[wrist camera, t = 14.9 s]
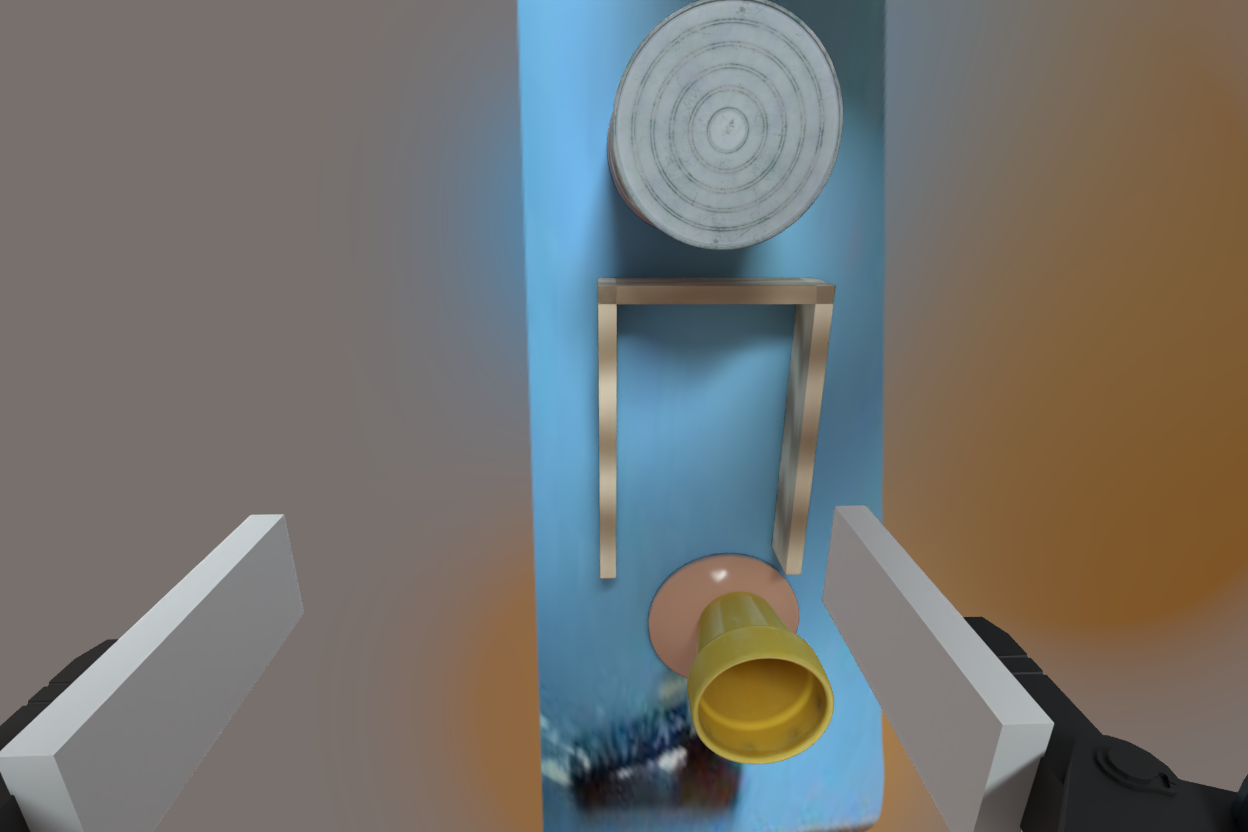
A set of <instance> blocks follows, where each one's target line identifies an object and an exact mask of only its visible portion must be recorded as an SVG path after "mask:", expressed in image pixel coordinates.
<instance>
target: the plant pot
mask: <svg viewBox="0 0 1248 832" xmlns="http://www.w3.org/2000/svg"><path fill="white" fill-rule="evenodd" d="M688 697H689V705H690V711H691V717H692V721H693V725H694V728H695V730H696V733H697V735H698V736H699V738H700V739H701V741H702V742H703V743H704V744H705V745H706V746H707V747H708V748H709V749H710V750H712V751H713V752H714V753H716V754H718V755H719V756H721V757H723V758H725V759H728V760H731V761H735V762H739V763H744V764H769V763H774V762H779V761H782V760H786V759H788V758H791V757H793V756H796V755H798V754H800V753H801V752H803V751H805V750H806V749H808V748H809V747H810V746H812V745H813V744H814V743H815V742H816V741H817V740H818V739H819V738H820V737H821V736H822V734H823V733H824V732H825V730H826V729H827V727H828V725H829V723H830V721H831V718H832V714H833V709H834V696H833V691H832V688H831V685H830V683H829V680H828V678H827V675H826V673H825V671H824V669H823V667H822V665H821V663H820V661H819V659H818V657H817V655H816V654H815V652H814V651H813V649H812V648H811V647H810V645H809V644H808V643H807V642H806V641H804V640H803V639H802V638H801V637H799V636H798V635H796V634H794V633H792V632H791V631H790V630H789V629H788V627H787V626H786V625H785V623H784V622H783V621H782V620H781V618H780V617H779V616H778V614H777V613H776V612H775V610H774V609H773V608H772V607H771V605H770V604H769V603H768V602H767V601H766V600H765V599H763V598H762V597H760V596H758V595H755V594H752V593H748V592H732V593H727V594H724V595H722V596H720V597H718V598H716V599H715V600H713V601H712V602H711V603H710V604H708V606H707V607H706V608H705V609H704V611H703V612H702V614H701V617H700V621H699V628H698V641H697V652H696V657H695V659H694V661H693V663H692V665H691V668H690V671H689V675H688Z"/></svg>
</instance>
